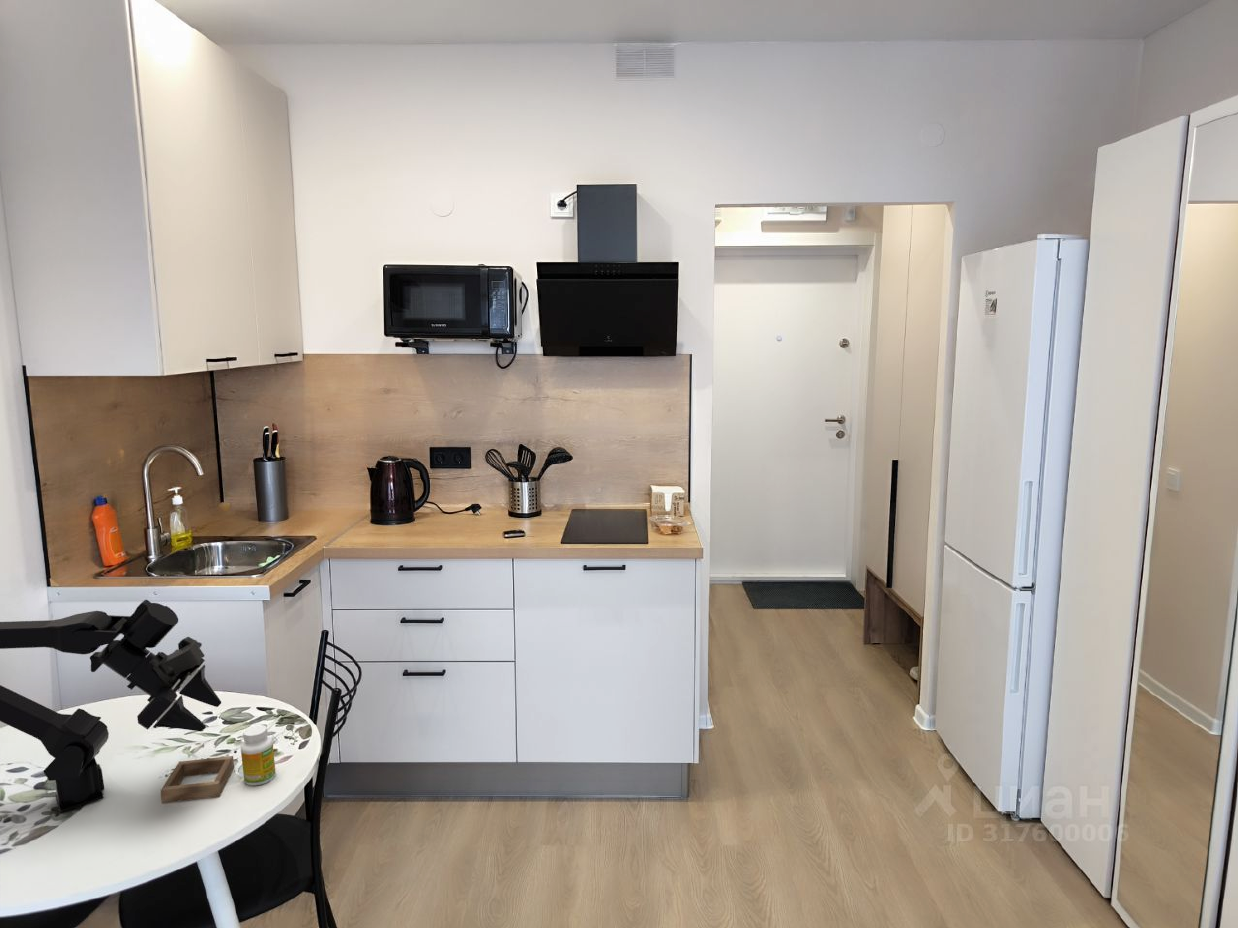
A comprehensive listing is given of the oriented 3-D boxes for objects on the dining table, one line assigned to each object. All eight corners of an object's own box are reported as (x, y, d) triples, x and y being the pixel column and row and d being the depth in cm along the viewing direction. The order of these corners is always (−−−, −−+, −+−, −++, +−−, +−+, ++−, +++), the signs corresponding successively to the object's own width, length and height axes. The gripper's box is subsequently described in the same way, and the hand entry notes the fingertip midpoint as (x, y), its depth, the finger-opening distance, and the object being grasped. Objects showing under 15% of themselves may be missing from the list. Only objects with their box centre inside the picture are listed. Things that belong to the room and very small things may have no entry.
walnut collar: (162, 802, 142) (160, 790, 142) (180, 773, 151) (179, 761, 151) (219, 796, 144) (218, 783, 143) (234, 767, 153) (233, 755, 153)
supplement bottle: (267, 786, 147) (262, 737, 145) (238, 786, 147) (233, 737, 145) (280, 769, 152) (275, 722, 150) (252, 769, 152) (247, 722, 151)
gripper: (149, 653, 133) (227, 708, 137) (187, 613, 151) (255, 662, 155) (103, 702, 133) (183, 755, 137) (146, 656, 151) (216, 704, 155)
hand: (212, 716), depth 146 cm, fingers open, 9 cm apart
